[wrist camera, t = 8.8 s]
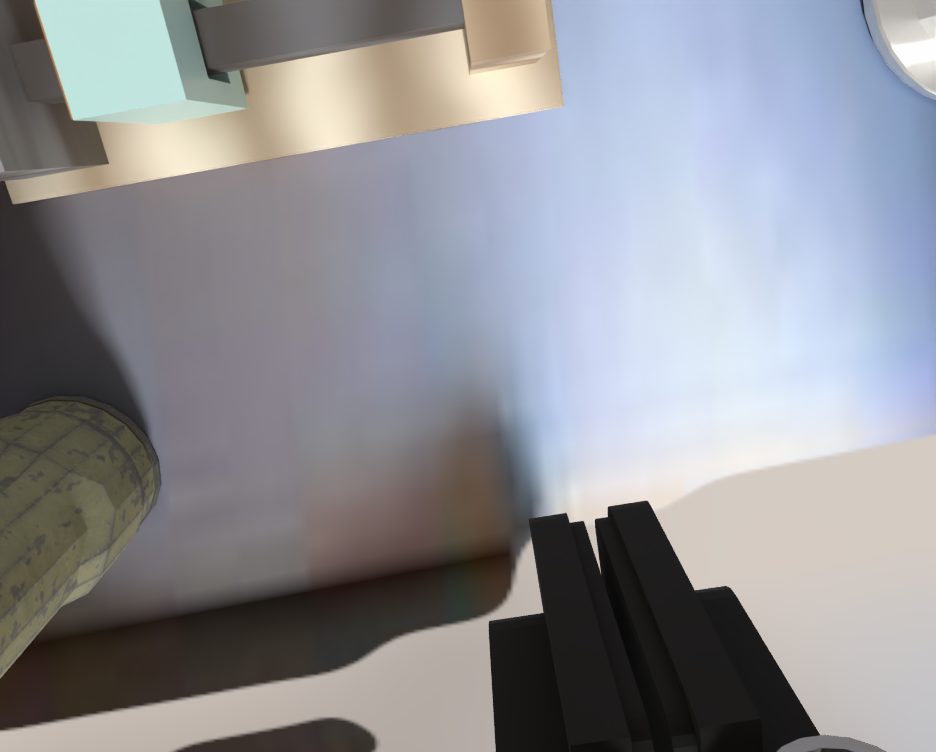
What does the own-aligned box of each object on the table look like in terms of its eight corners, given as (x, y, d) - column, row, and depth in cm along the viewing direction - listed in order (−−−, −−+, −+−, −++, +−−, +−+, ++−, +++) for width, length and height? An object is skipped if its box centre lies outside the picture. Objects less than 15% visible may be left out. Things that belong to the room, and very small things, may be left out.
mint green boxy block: (220, -7, 30) (144, -52, 23) (248, 108, 32) (186, 99, 24) (128, 10, 30) (25, -30, 23) (160, 124, 32) (73, 120, 25)
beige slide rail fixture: (534, -115, 31) (563, -212, 22) (561, 107, 33) (595, 96, 25) (-48, -4, 32) (-234, -55, 23) (25, 202, 35) (-118, 223, 26)
